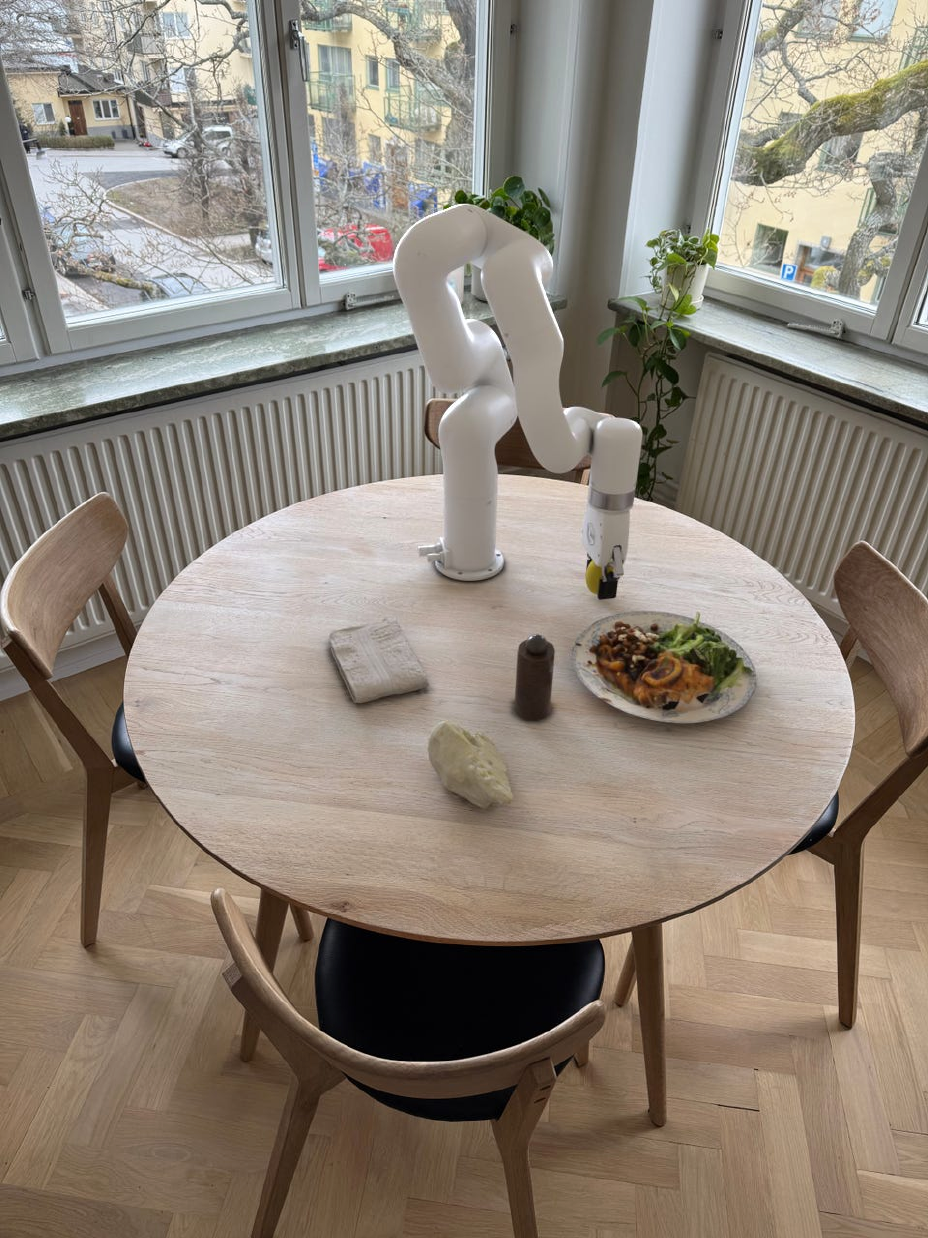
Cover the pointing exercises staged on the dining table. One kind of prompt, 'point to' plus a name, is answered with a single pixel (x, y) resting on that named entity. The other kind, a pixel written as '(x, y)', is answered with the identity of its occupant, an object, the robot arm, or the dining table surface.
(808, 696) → the dining table surface
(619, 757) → the dining table surface
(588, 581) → the lemon
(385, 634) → the washcloth
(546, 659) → the pepper mill
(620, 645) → the plate of food
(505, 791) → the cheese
